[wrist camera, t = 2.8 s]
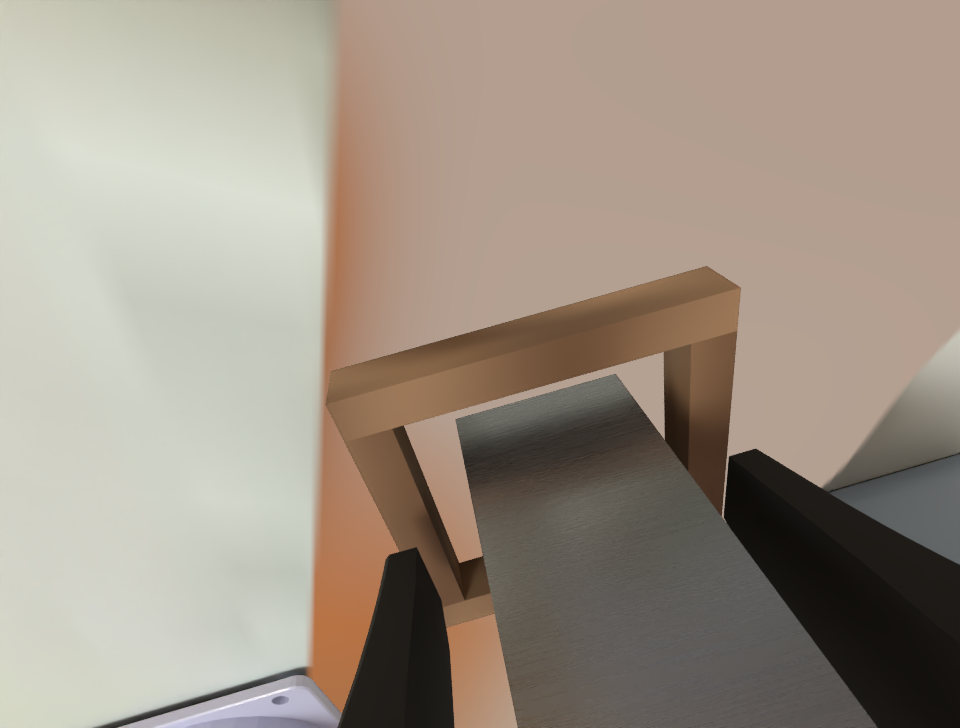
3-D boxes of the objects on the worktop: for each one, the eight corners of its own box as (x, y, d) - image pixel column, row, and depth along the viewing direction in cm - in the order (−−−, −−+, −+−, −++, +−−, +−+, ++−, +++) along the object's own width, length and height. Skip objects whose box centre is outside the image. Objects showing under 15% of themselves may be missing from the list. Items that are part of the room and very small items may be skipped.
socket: (435, 591, 15) (439, 629, 14) (330, 371, 10) (325, 404, 9) (696, 515, 15) (718, 547, 14) (707, 266, 11) (740, 287, 10)
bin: (642, 711, 22) (689, 827, 19) (630, 550, 16) (698, 685, 12) (893, 635, 22) (983, 736, 19) (984, 446, 16) (1145, 550, 13)
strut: (489, 524, 14) (589, 958, 7) (455, 419, 12) (552, 900, 5) (624, 486, 14) (846, 878, 7) (615, 373, 12) (920, 785, 5)
